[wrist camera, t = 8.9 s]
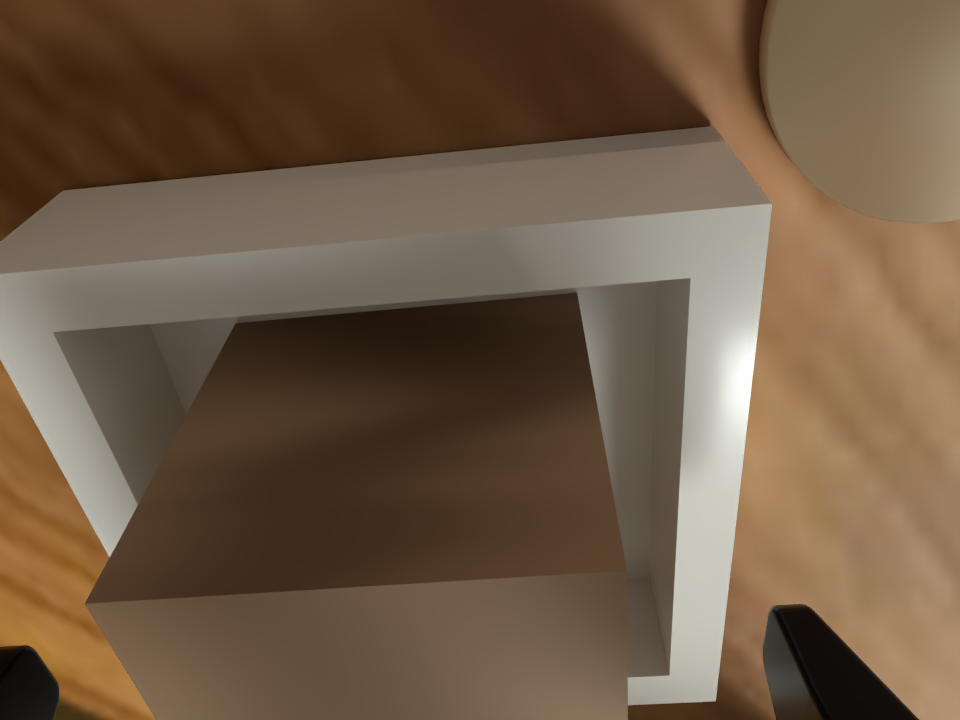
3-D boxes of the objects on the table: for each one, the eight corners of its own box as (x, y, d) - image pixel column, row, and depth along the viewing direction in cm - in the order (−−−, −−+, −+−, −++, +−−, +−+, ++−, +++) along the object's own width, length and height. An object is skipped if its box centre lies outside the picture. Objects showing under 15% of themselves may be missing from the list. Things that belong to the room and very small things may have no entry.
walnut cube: (577, 292, 11) (627, 570, 7) (588, 537, 14) (628, 839, 10) (235, 322, 11) (85, 604, 7) (314, 554, 14) (238, 853, 10)
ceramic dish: (713, 125, 10) (772, 203, 8) (684, 579, 15) (715, 701, 13) (63, 190, 11) (-45, 278, 9) (241, 604, 16) (201, 723, 14)
